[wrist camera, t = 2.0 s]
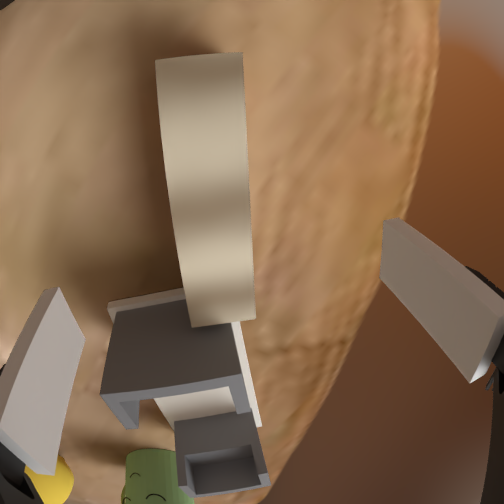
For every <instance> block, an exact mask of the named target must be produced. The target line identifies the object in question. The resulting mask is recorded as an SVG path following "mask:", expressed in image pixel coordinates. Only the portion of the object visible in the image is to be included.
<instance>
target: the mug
mask: <svg viewBox="0 0 504 504" xmlns="http://www.w3.org/2000/svg"><path fill="white" fill-rule="evenodd" d="M125 501H126V504H194V498H190V497H189V496H188V495H187V494H185V493H184V492H183V491H182V490H181V489H180V488H179V487H178V478H177V465H176V452H174V451H170V450H164V449H140V450H136V451H133V452H131V453H129V454H128V455H127V457H126V483H125V486H124V488H123V490H122V494H121V504H125Z"/></svg>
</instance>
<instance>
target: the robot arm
mask: <svg viewBox="0 0 504 504" xmlns="http://www.w3.org/2000/svg"><path fill="white" fill-rule="evenodd" d="M13 1H14V0H0V10H1V9H3V8H4V7H6V6H7V5H9V4H10V3H11V2H13ZM379 278H380V279H381V280H382V281H383V282H384V283H385V284H386V285H387V286H388V287H389V289H390V290H391V291H392V292H393V293H394V294H395V295H396V296H397V297H398V299H399V300H400V301H401V302H402V303H403V304H404V305H405V306H406V307H407V309H408V310H409V311H410V312H411V313H412V314H413V315H414V317H415V318H416V319H417V320H418V321H419V322H420V323H421V325H422V326H423V327H424V328H425V329H426V331H427V332H428V333H429V334H430V335H431V336H432V338H433V339H434V340H435V341H436V342H437V344H438V345H439V346H440V347H441V348H442V349H443V351H444V352H445V353H446V354H447V356H448V357H449V358H450V359H451V360H452V361H453V363H454V364H455V365H456V367H457V368H458V369H459V370H460V372H461V373H462V374H463V376H464V377H465V378H466V379H467V380H468V382H469V383H471V382H473V381H474V380H476V379H478V378H479V377H481V376H483V375H485V373H486V372H487V369H488V367H489V366H490V364H491V362H493V363H494V364H495V366H496V369H495V371H494V372H493V374H492V376H491V378H490V380H489V381H488V383H487V385H486V390H488V389H489V388H490V386H491V384H492V383H493V389H492V391H493V414H492V429H491V440H490V449H489V457H488V464H487V472H486V477H485V482H484V488H483V493H482V498H481V503H480V504H504V292H502V291H501V290H500V289H499V288H498V287H497V288H496V287H495V285H494V284H493V283H492V282H491V281H488V279H487V278H486V277H484V276H483V275H482V274H481V273H480V272H478V271H476V270H474V269H471V268H469V267H467V266H465V267H464V266H463V265H462V264H461V263H459V262H458V261H457V260H455V259H454V258H453V257H451V256H450V255H449V254H447V253H446V252H445V251H444V250H443V249H441V248H440V247H439V246H437V245H436V244H434V243H433V242H432V241H431V240H429V239H428V238H426V237H425V236H424V235H422V234H421V233H420V232H418V231H417V230H415V229H414V228H413V227H411V226H410V225H408V224H407V223H405V222H404V221H403V220H401V219H400V218H394V219H389V220H384V221H383V239H382V254H381V266H380V277H379ZM85 340H86V339H85V337H84V335H83V334H82V332H81V330H80V328H79V326H78V324H77V322H76V320H75V318H74V316H73V314H72V312H71V310H70V308H69V306H68V304H67V302H66V300H65V298H64V296H63V294H62V292H61V290H60V288H59V287H56V288H51V289H46V290H44V291H43V293H42V295H41V296H40V298H39V300H38V302H37V304H36V305H35V307H34V309H33V311H32V313H31V314H30V316H29V318H28V320H27V322H26V324H25V326H24V328H23V330H22V332H21V333H20V335H19V337H18V339H17V341H16V343H15V346H14V348H13V350H12V352H11V354H10V356H9V358H8V360H7V362H6V364H4V365H3V367H2V368H1V369H0V504H44V502H43V501H42V499H41V497H40V495H39V494H38V492H37V490H36V488H35V486H34V484H33V482H32V481H31V479H30V477H29V476H28V475H27V474H26V473H25V472H24V471H25V466H26V465H27V466H28V467H29V468H30V469H31V470H33V471H34V472H35V473H37V474H44V475H53V476H55V469H56V463H57V457H58V451H59V445H60V440H61V435H62V430H63V425H64V420H65V416H66V411H67V407H68V402H69V398H70V394H71V390H72V386H73V382H74V378H75V375H76V371H77V367H78V364H79V360H80V356H81V353H82V350H83V346H84V343H85Z"/></svg>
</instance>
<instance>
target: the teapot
mask: <svg viewBox="0 0 504 504" xmlns="http://www.w3.org/2000/svg"><path fill="white" fill-rule="evenodd" d="M24 472H25V473H26V474H27V475H28V476H29V477H30V479H31V481H32V482H33V484H34V486H35V488H36V490H37V492H38V494H39V495H40V497H41V499H42V501H43V502H44V504H63V503H64V502H65V501H66V499H67V498H68V496H69V494H70V492H71V490H72V486H73V482H74V477H73V473H72V471H71V470H70V468H69V466H68V465H67V464H66V462H65V460H64V458H62V457H61V456H59V455H58V457H57V463H56V469H55V476H53V475H44V474H37V473H35V472H34V471H33V470H31V469H30V468H29V467H28V466H27V465H26V466H25V471H24Z"/></svg>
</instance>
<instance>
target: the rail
mask: <svg viewBox="0 0 504 504" xmlns="http://www.w3.org/2000/svg"><path fill="white" fill-rule="evenodd" d="M155 69H156V83H157V96H158V107H159V118H160V128H161V138H162V147H163V155H164V164H165V172H166V179H167V187H168V194H169V201H170V208H171V215H172V222H173V228H174V234H175V240H176V247H177V252H178V258H179V264H180V270H181V275H182V281H183V286H184V291H185V296H186V302H187V307H188V312H189V317H190V321H191V326H192V328H194V327H201V326H209V325H216V324H224V323H231V322H238V321H244V320H251V319H256V312H255V292H254V272H253V252H252V231H251V211H250V191H249V171H248V151H247V131H246V111H245V91H244V71H243V52H234V53H216V54H203V55H192V56H182V57H174V58H166V59H159V60H155Z"/></svg>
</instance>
